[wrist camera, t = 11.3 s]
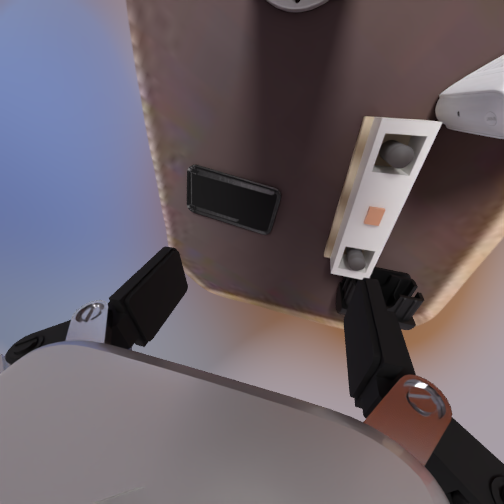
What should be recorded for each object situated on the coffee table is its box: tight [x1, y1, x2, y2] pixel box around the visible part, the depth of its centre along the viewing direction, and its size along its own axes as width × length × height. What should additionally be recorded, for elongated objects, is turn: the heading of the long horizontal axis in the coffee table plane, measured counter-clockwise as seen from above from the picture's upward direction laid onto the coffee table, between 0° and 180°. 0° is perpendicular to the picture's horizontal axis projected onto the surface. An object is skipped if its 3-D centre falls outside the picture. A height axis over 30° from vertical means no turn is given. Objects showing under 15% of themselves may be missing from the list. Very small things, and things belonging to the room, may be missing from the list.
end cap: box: [336, 267, 424, 330], centre depth 33 cm, size 10×7×7 cm
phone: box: [187, 165, 281, 235], centre depth 35 cm, size 8×1×15 cm
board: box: [324, 116, 414, 271], centre depth 27 cm, size 19×7×6 cm, turn 176°
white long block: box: [330, 117, 443, 280], centre depth 26 cm, size 19×5×4 cm, turn 177°
